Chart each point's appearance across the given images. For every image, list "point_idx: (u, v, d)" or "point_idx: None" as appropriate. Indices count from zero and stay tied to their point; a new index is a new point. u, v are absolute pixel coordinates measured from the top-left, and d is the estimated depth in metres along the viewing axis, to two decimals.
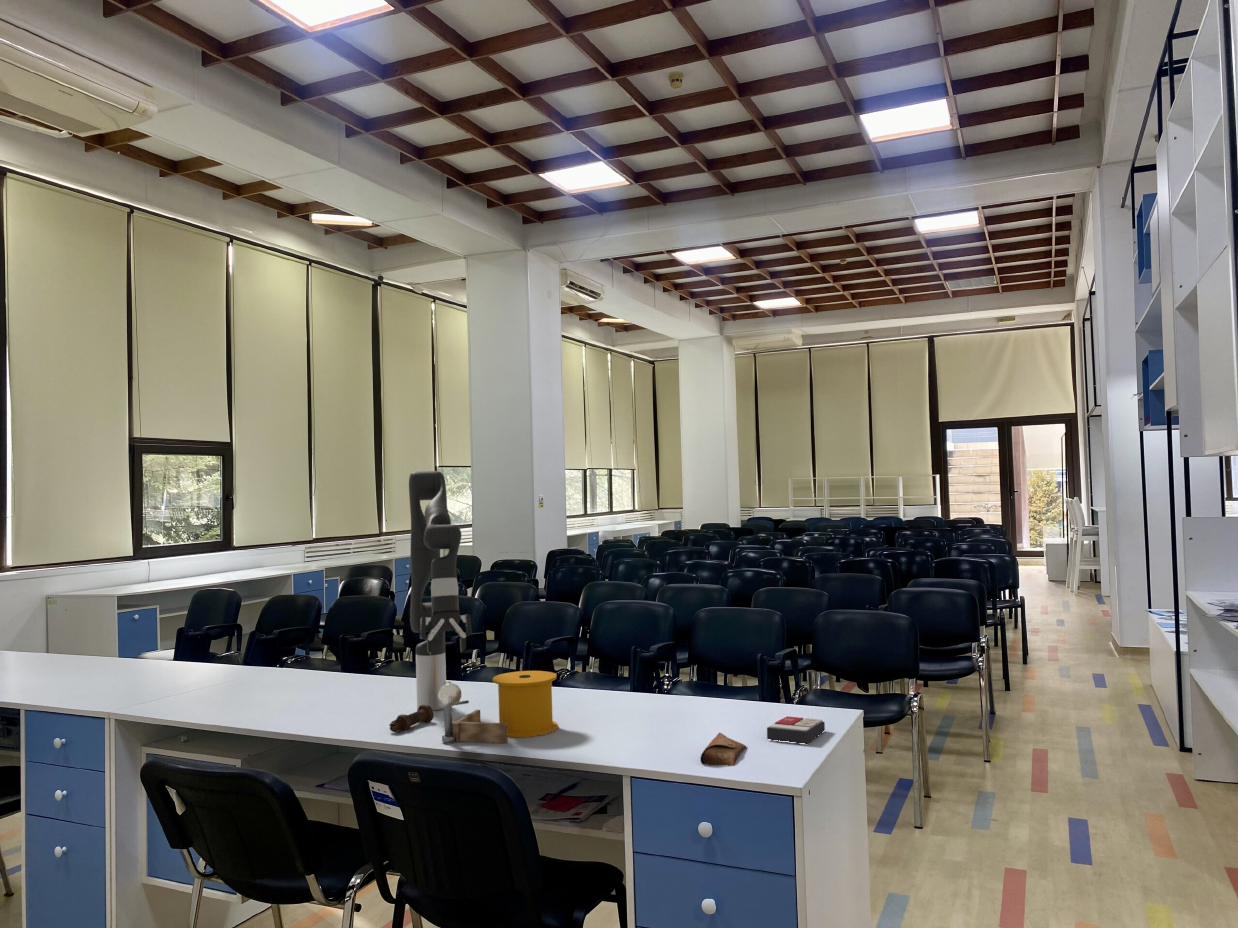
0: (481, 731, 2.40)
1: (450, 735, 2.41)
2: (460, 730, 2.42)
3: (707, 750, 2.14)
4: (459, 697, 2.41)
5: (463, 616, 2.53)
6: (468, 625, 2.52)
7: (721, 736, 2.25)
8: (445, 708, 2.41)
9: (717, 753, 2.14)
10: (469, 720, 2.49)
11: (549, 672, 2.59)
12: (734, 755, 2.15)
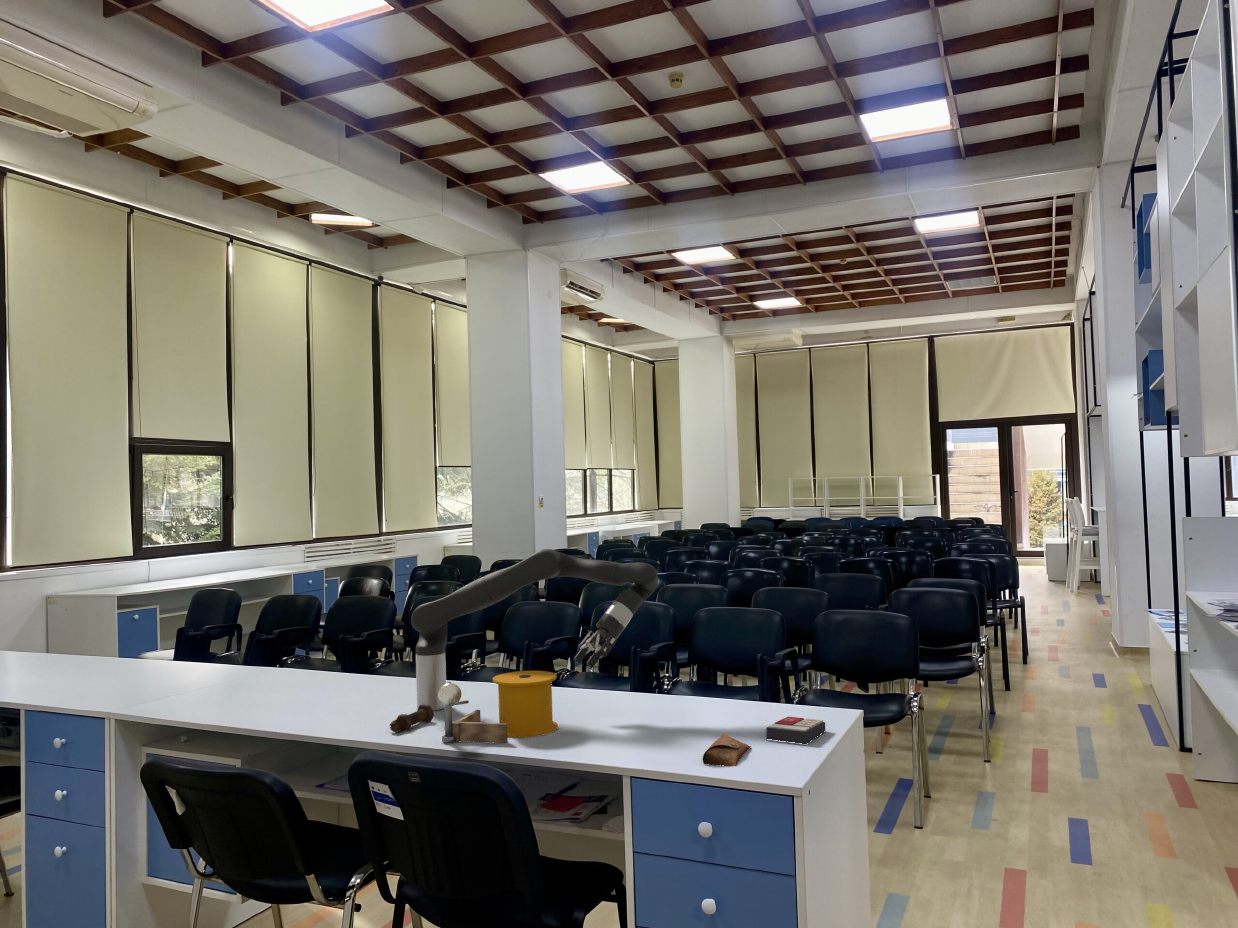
0: (481, 731, 2.40)
1: (450, 735, 2.41)
2: (460, 730, 2.42)
3: (709, 750, 2.14)
4: (459, 697, 2.41)
5: None
6: None
7: (725, 736, 2.24)
8: (445, 708, 2.41)
9: (719, 753, 2.14)
10: (469, 720, 2.49)
11: (549, 672, 2.59)
12: (736, 756, 2.15)
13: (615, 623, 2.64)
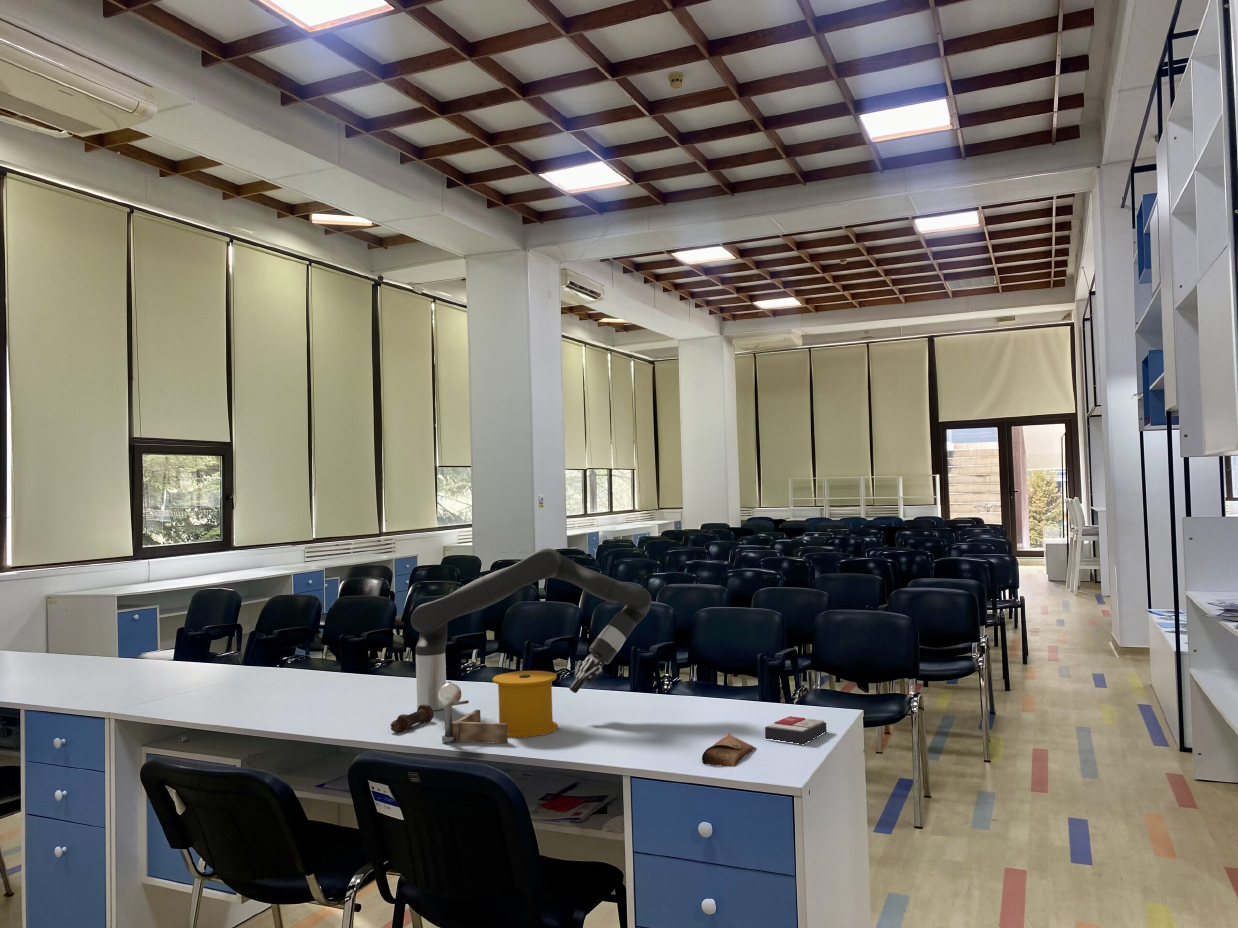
0: (481, 731, 2.40)
1: (450, 735, 2.41)
2: (460, 730, 2.42)
3: (709, 750, 2.14)
4: (459, 697, 2.41)
5: None
6: None
7: (729, 737, 2.24)
8: (445, 708, 2.41)
9: (719, 753, 2.14)
10: (469, 720, 2.49)
11: (549, 672, 2.59)
12: (736, 756, 2.14)
13: (608, 647, 2.63)
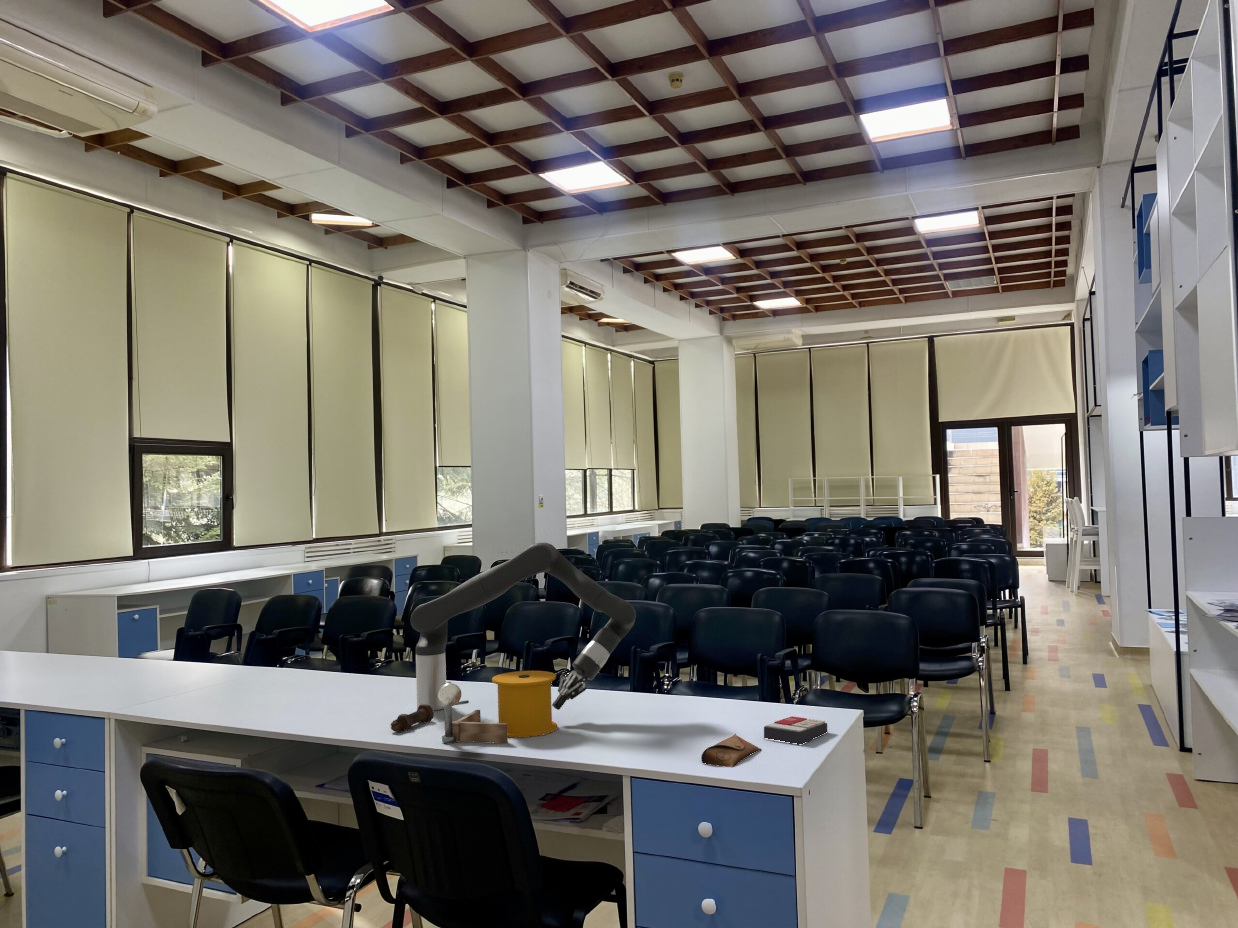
0: (481, 731, 2.40)
1: (450, 735, 2.41)
2: (460, 730, 2.42)
3: (708, 750, 2.14)
4: (459, 697, 2.41)
5: None
6: None
7: (733, 737, 2.24)
8: (445, 708, 2.41)
9: (718, 753, 2.14)
10: (469, 720, 2.49)
11: (548, 672, 2.58)
12: (736, 757, 2.14)
13: (591, 663, 2.60)
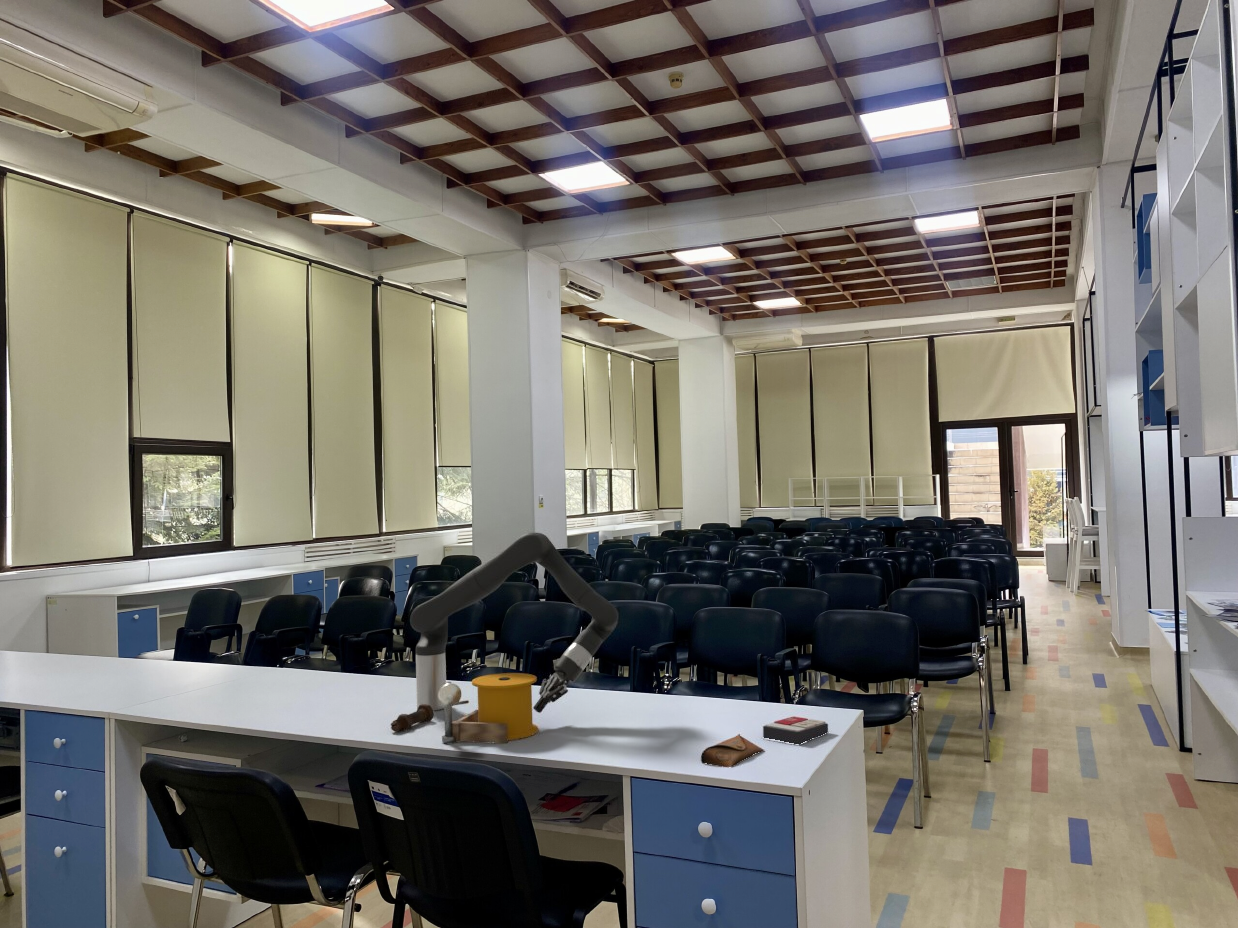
0: (481, 731, 2.40)
1: (450, 735, 2.41)
2: (460, 730, 2.42)
3: (708, 749, 2.15)
4: (459, 697, 2.41)
5: None
6: None
7: (736, 737, 2.23)
8: (445, 708, 2.41)
9: (718, 753, 2.14)
10: (469, 720, 2.49)
11: (530, 674, 2.55)
12: (736, 758, 2.14)
13: (573, 666, 2.57)
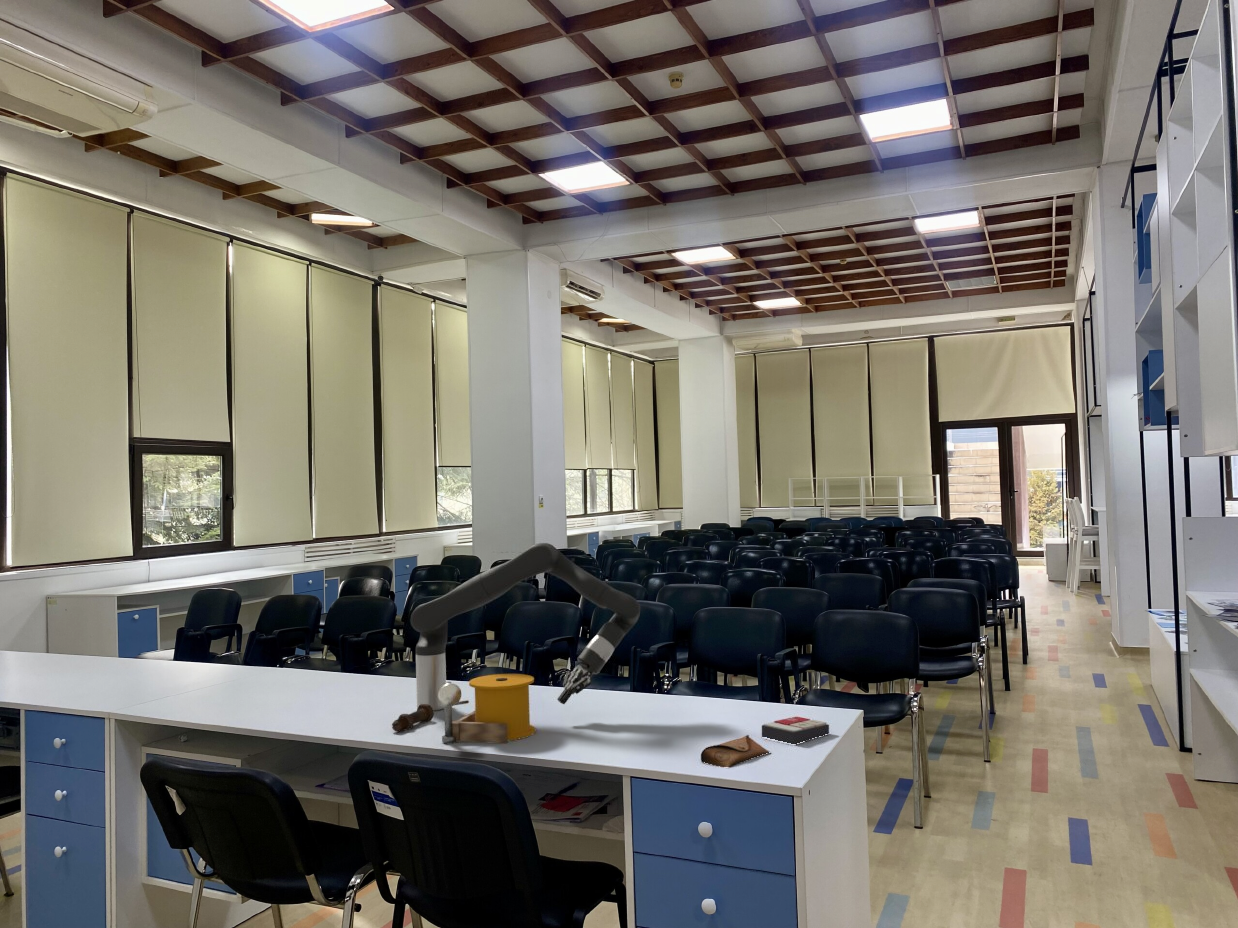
0: (481, 731, 2.40)
1: (450, 735, 2.41)
2: (460, 730, 2.42)
3: (708, 749, 2.15)
4: (459, 697, 2.41)
5: None
6: None
7: (741, 738, 2.22)
8: (445, 708, 2.41)
9: (717, 753, 2.14)
10: (469, 720, 2.49)
11: (528, 675, 2.55)
12: (735, 758, 2.13)
13: (596, 658, 2.61)
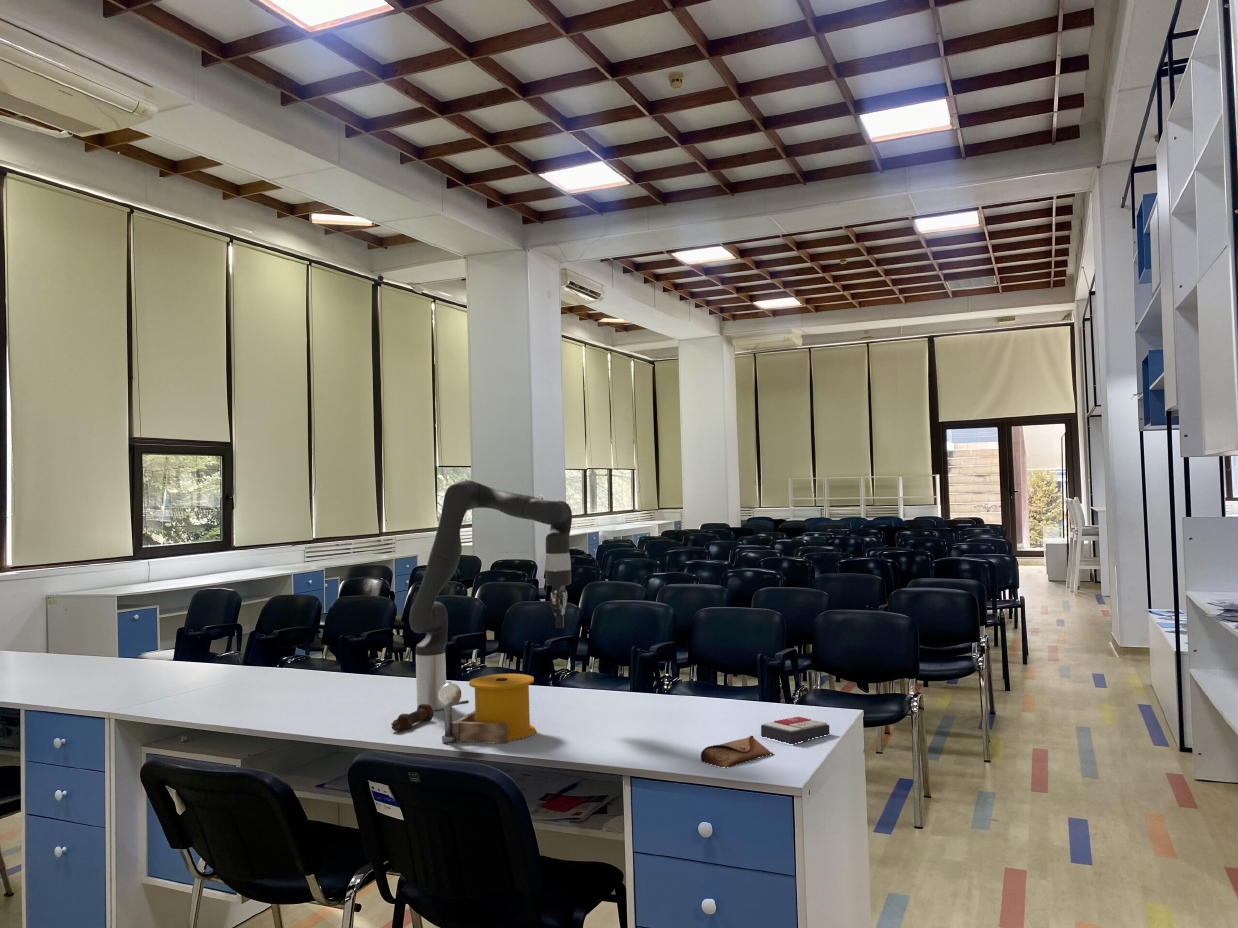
0: (481, 731, 2.40)
1: (450, 735, 2.41)
2: (460, 730, 2.42)
3: (708, 749, 2.15)
4: (459, 697, 2.41)
5: None
6: (565, 602, 2.67)
7: (744, 739, 2.21)
8: (445, 708, 2.41)
9: (716, 753, 2.14)
10: (469, 720, 2.49)
11: (528, 675, 2.55)
12: (735, 759, 2.12)
13: (552, 575, 2.60)
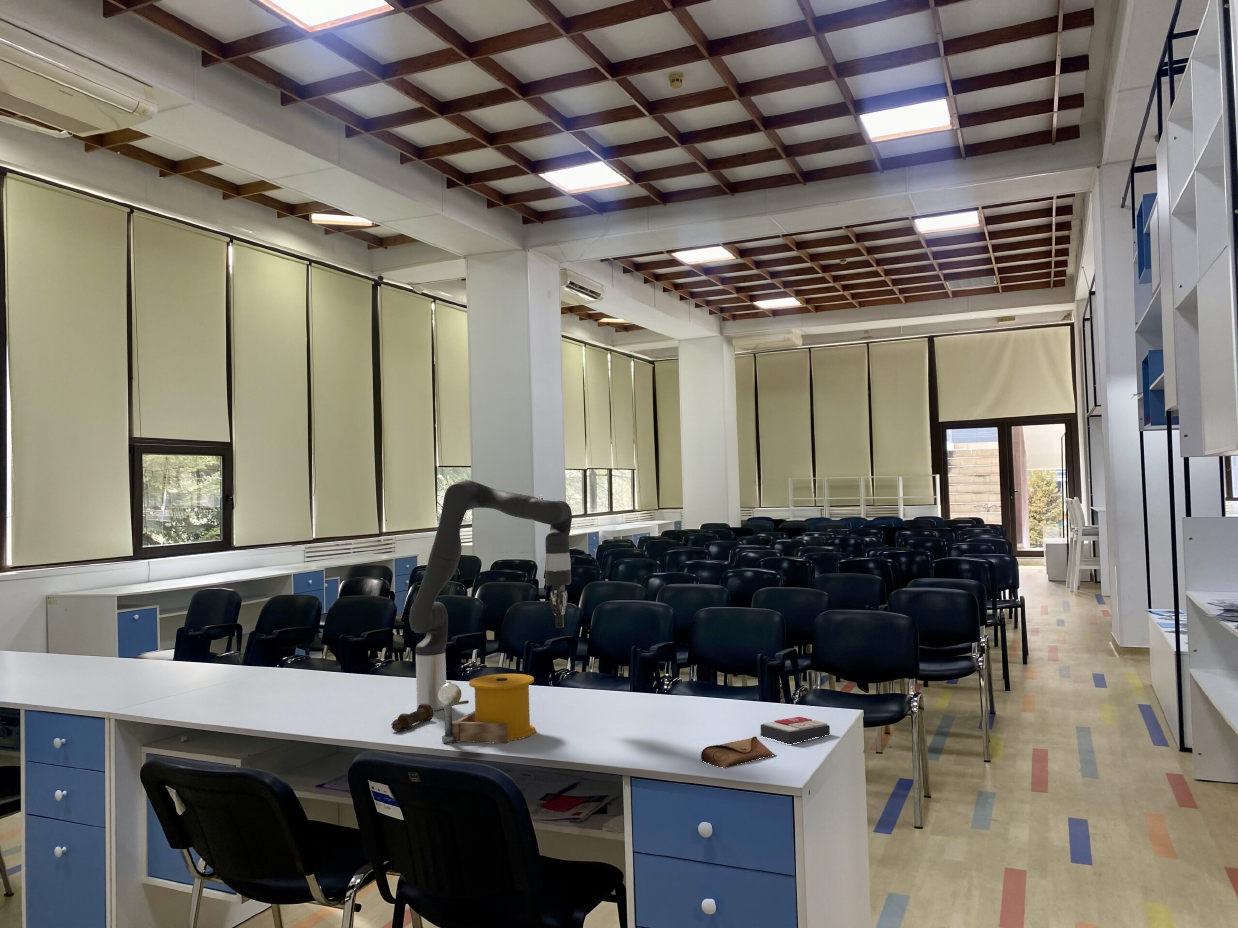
0: (481, 731, 2.40)
1: (450, 735, 2.41)
2: (460, 730, 2.42)
3: (708, 749, 2.15)
4: (459, 697, 2.41)
5: None
6: (565, 602, 2.67)
7: (747, 739, 2.21)
8: (445, 708, 2.41)
9: (716, 753, 2.14)
10: (469, 720, 2.49)
11: (528, 675, 2.55)
12: (734, 759, 2.12)
13: (552, 574, 2.60)
